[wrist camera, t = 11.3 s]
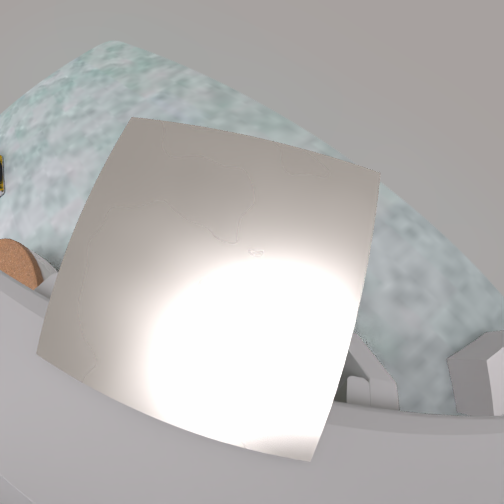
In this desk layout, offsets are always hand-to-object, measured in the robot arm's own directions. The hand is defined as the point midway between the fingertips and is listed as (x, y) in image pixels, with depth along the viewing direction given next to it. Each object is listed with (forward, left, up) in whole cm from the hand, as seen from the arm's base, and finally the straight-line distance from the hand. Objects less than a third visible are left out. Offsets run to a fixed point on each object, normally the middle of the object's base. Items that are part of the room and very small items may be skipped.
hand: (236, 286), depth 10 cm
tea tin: (0, +1, -6) cm, 6 cm away
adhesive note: (-23, +1, -14) cm, 27 cm away
